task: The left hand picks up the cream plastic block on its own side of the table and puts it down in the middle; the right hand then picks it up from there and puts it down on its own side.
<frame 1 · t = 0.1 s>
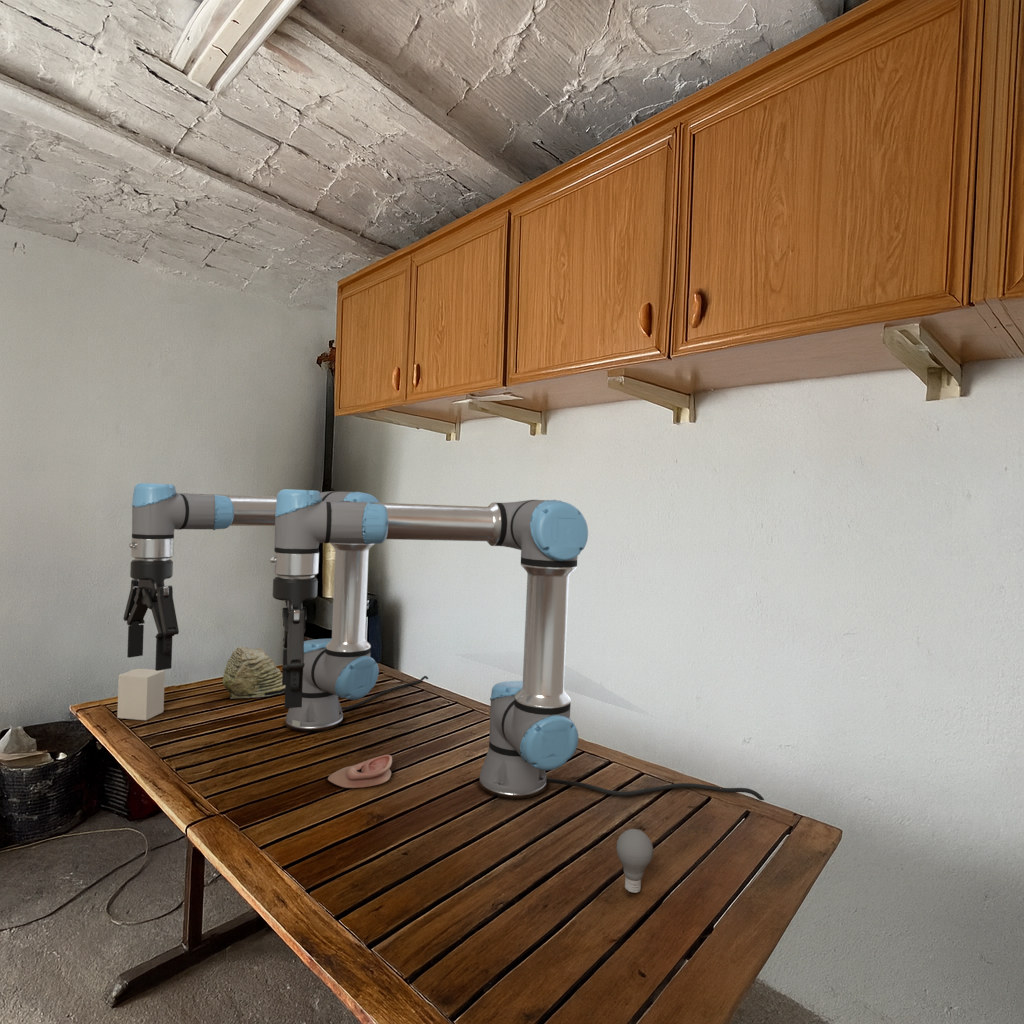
left hand: (148, 662, 129), 28 cm above the table, tool pointing down, fingers open, 13 cm apart
right hand: (291, 695, 113), 28 cm above the table, tool pointing down, fingers open, 13 cm apart
fossil: (254, 694, 198), on the table
light bulb: (632, 891, 106), on the table
block: (140, 714, 177), on the table
anatomical model: (360, 778, 143), on the table
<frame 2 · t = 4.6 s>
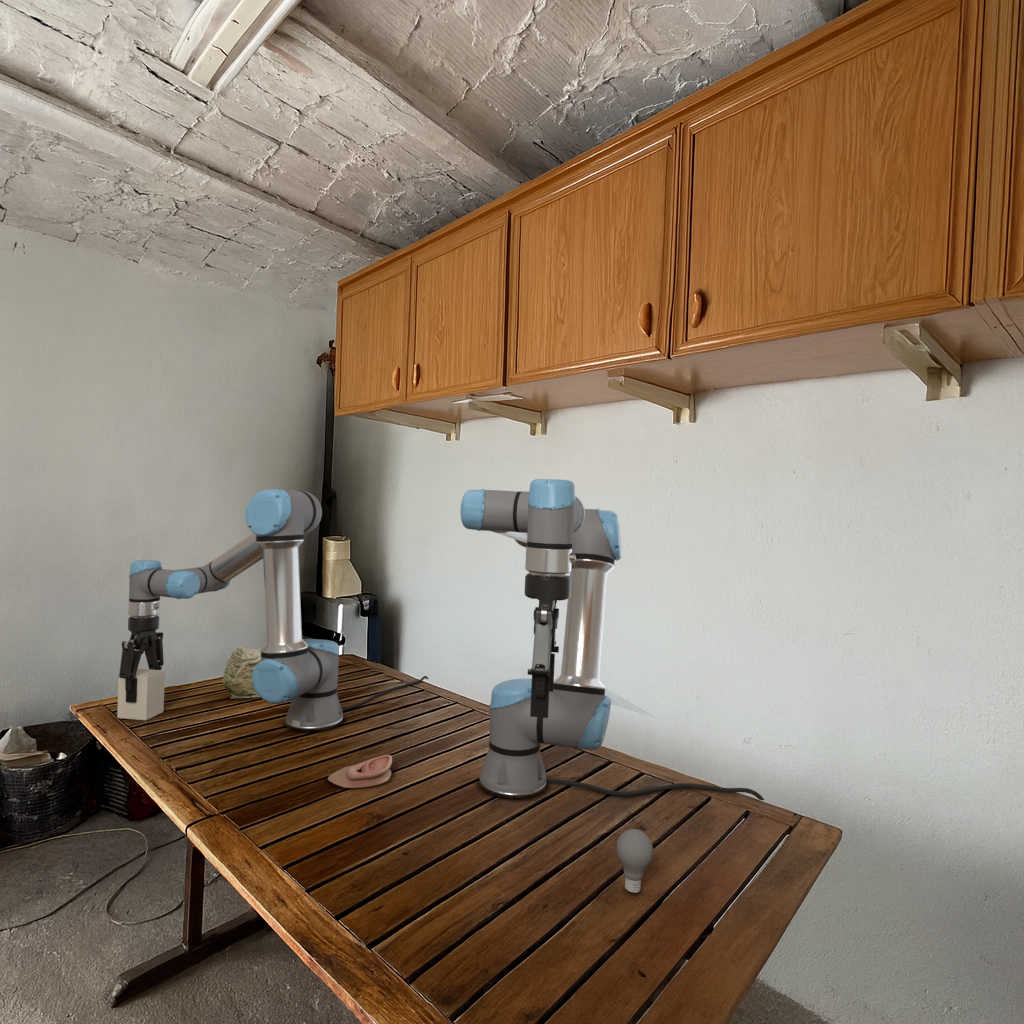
left hand: (141, 697, 177), 5 cm above the table, tool pointing down, fingers closed on block, 7 cm apart
right hand: (542, 703, 104), 31 cm above the table, tool pointing down, fingers open, 13 cm apart
block: (140, 714, 177), on the table, touching left hand
everything else where it was.
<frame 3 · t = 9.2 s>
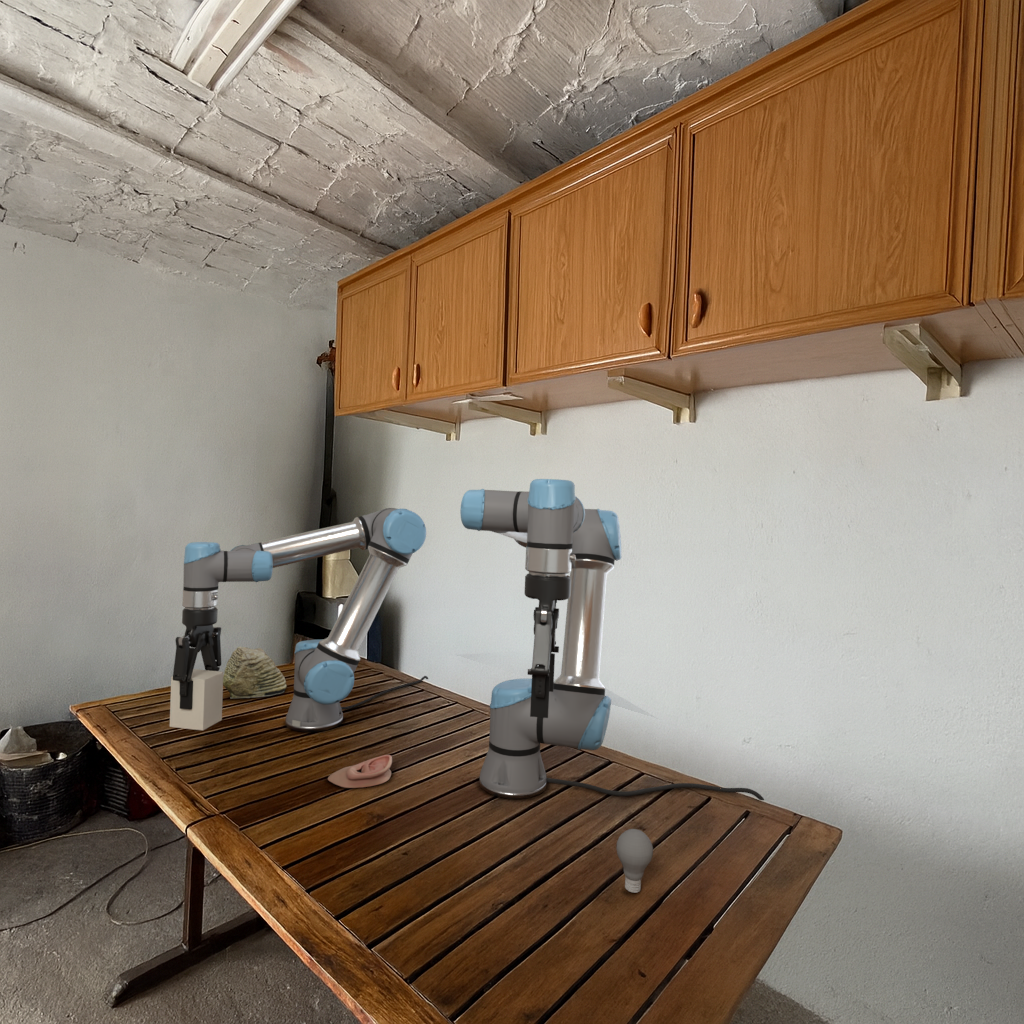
left hand: (197, 703, 151), 13 cm above the table, tool pointing down, fingers closed on block, 7 cm apart
right hand: (542, 703, 104), 31 cm above the table, tool pointing down, fingers open, 13 cm apart
block: (196, 723, 151), point 8 cm above the table, touching left hand
everything else where it was.
when the left hand's fingers open (7 cm above the table, at t = 14.0 s): block drops 2 cm, on the table.
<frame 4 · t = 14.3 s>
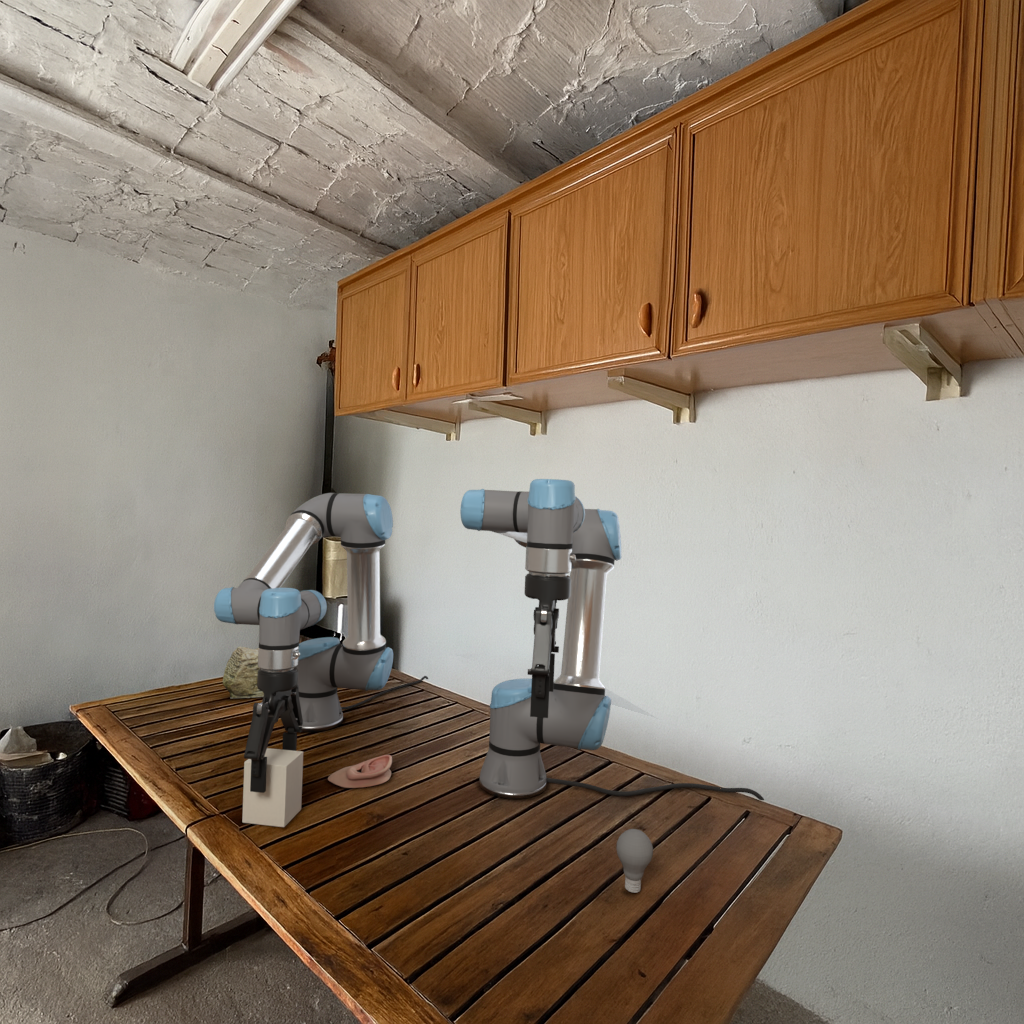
left hand: (274, 777, 125), 8 cm above the table, tool pointing down, fingers open, 11 cm apart
right hand: (542, 703, 104), 31 cm above the table, tool pointing down, fingers open, 13 cm apart
block: (272, 815, 125), on the table
everything else where it was.
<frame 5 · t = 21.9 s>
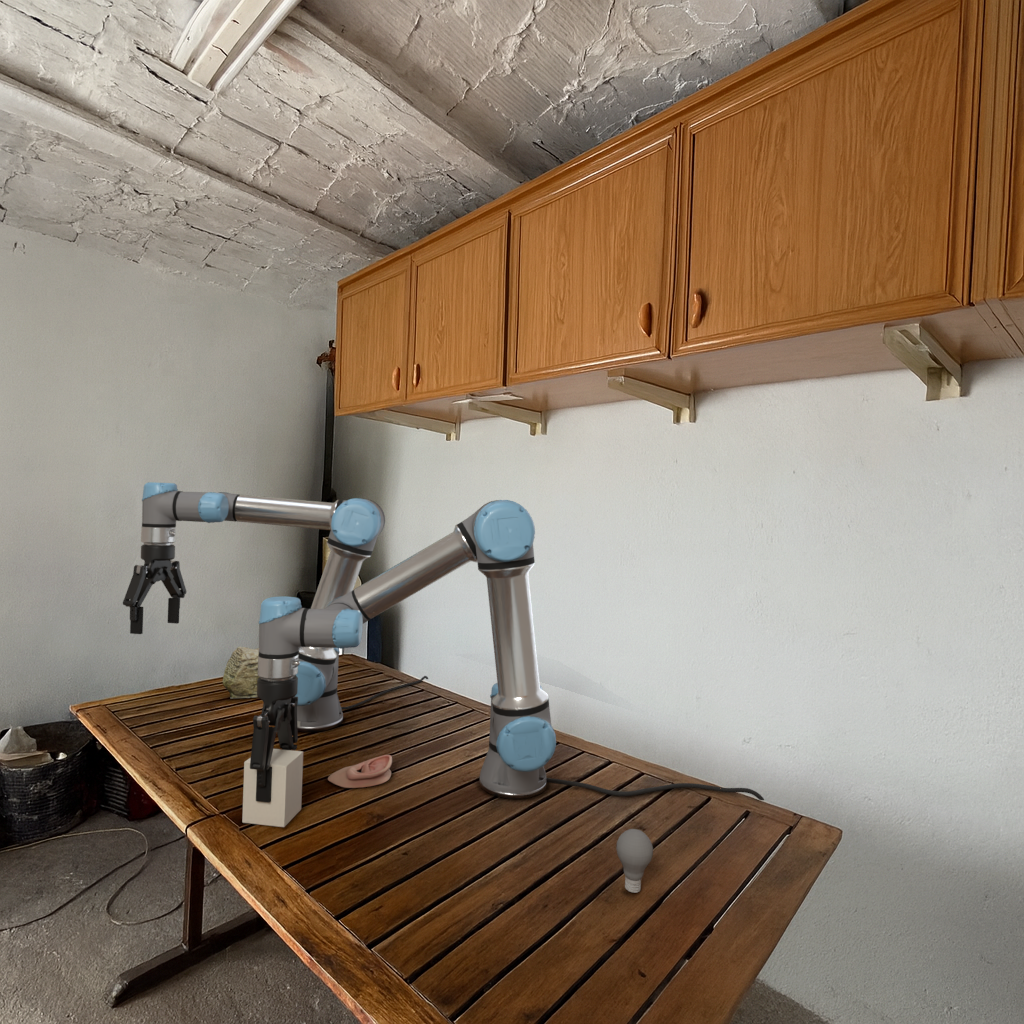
left hand: (155, 628, 159), 28 cm above the table, tool pointing down, fingers open, 13 cm apart
right hand: (273, 791, 125), 5 cm above the table, tool pointing down, fingers closed on block, 7 cm apart
block: (272, 815, 125), on the table, touching right hand
everything else where it was.
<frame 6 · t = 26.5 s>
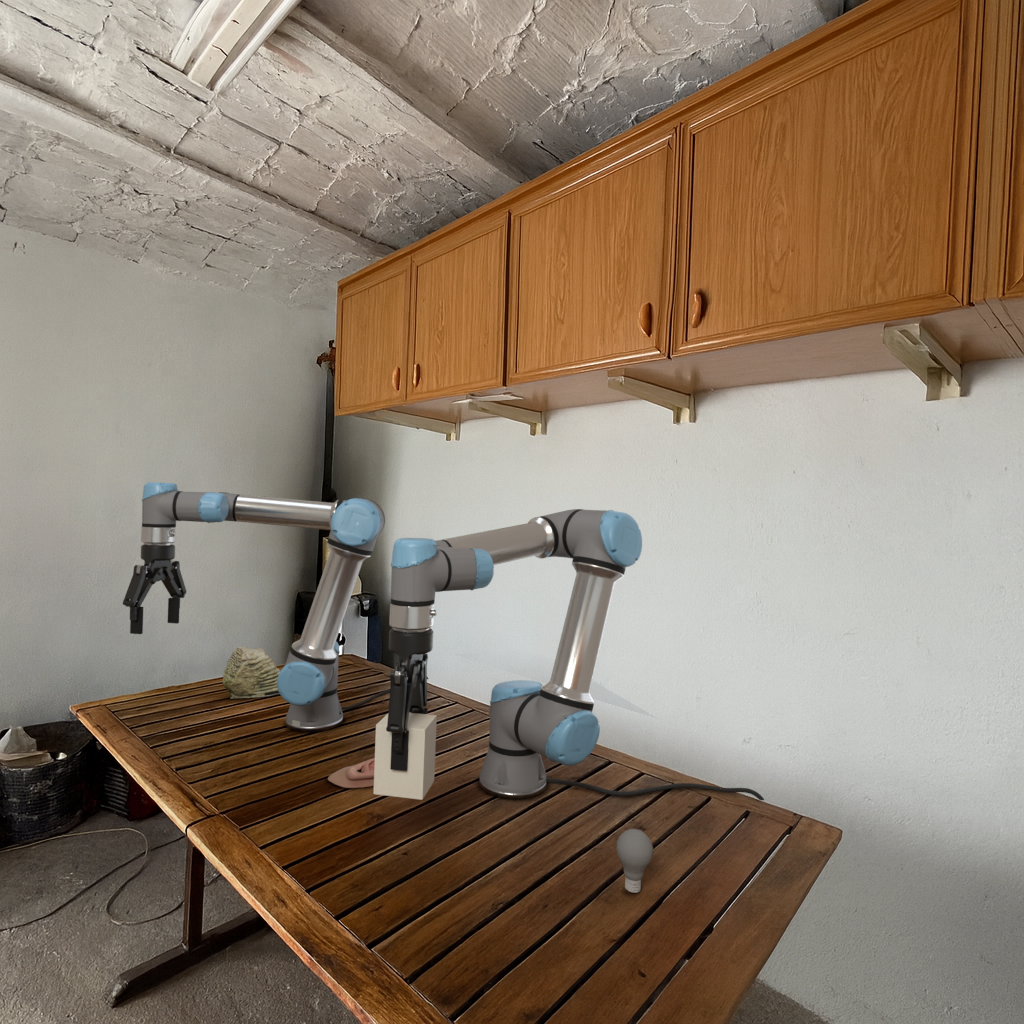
left hand: (155, 628, 159), 28 cm above the table, tool pointing down, fingers open, 13 cm apart
right hand: (406, 759, 109), 19 cm above the table, tool pointing down, fingers closed on block, 7 cm apart
block: (404, 787, 110), point 14 cm above the table, touching right hand
everything else where it was.
when the right hand's fingers open (7 cm above the table, at t = 31.4 s): block drops 2 cm, on the table.
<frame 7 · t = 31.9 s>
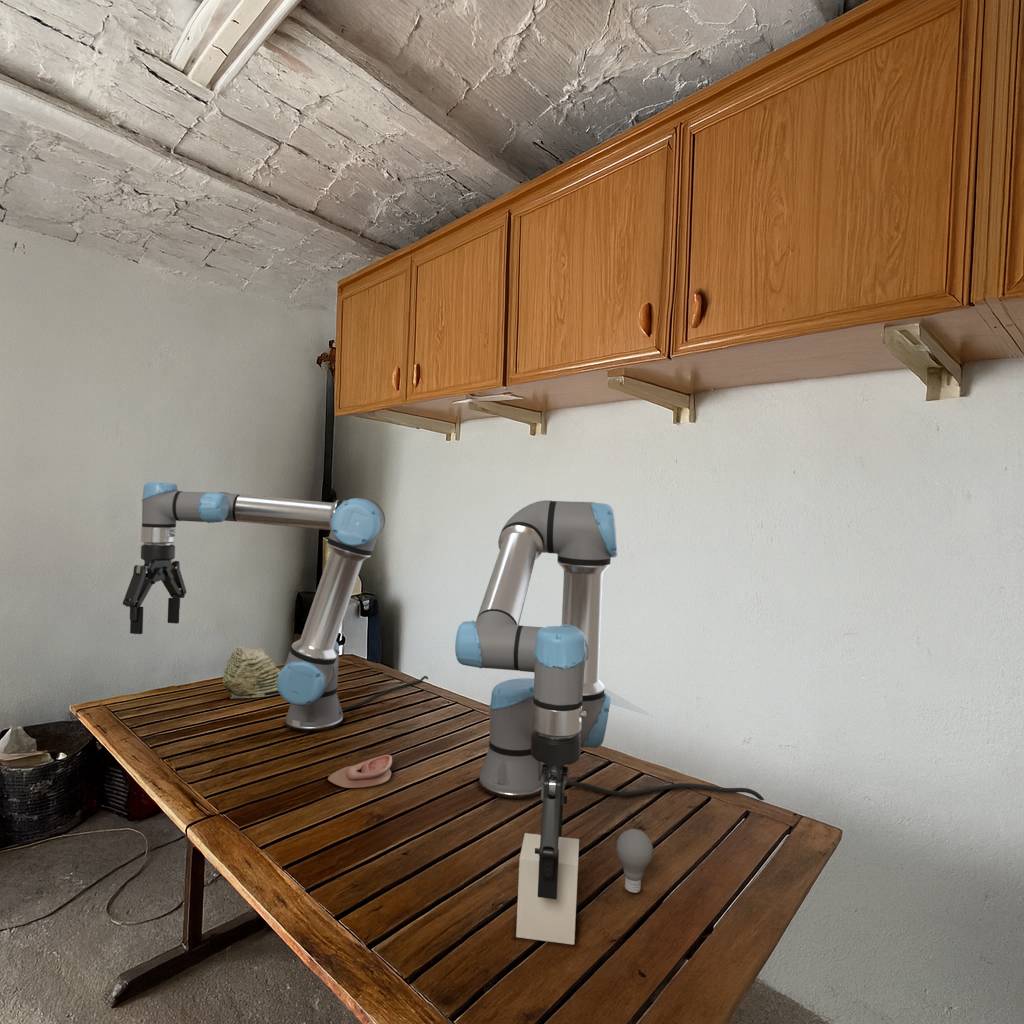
left hand: (155, 628, 159), 28 cm above the table, tool pointing down, fingers open, 13 cm apart
right hand: (550, 869, 96), 9 cm above the table, tool pointing down, fingers open, 13 cm apart
block: (546, 924, 96), on the table
everything else where it was.
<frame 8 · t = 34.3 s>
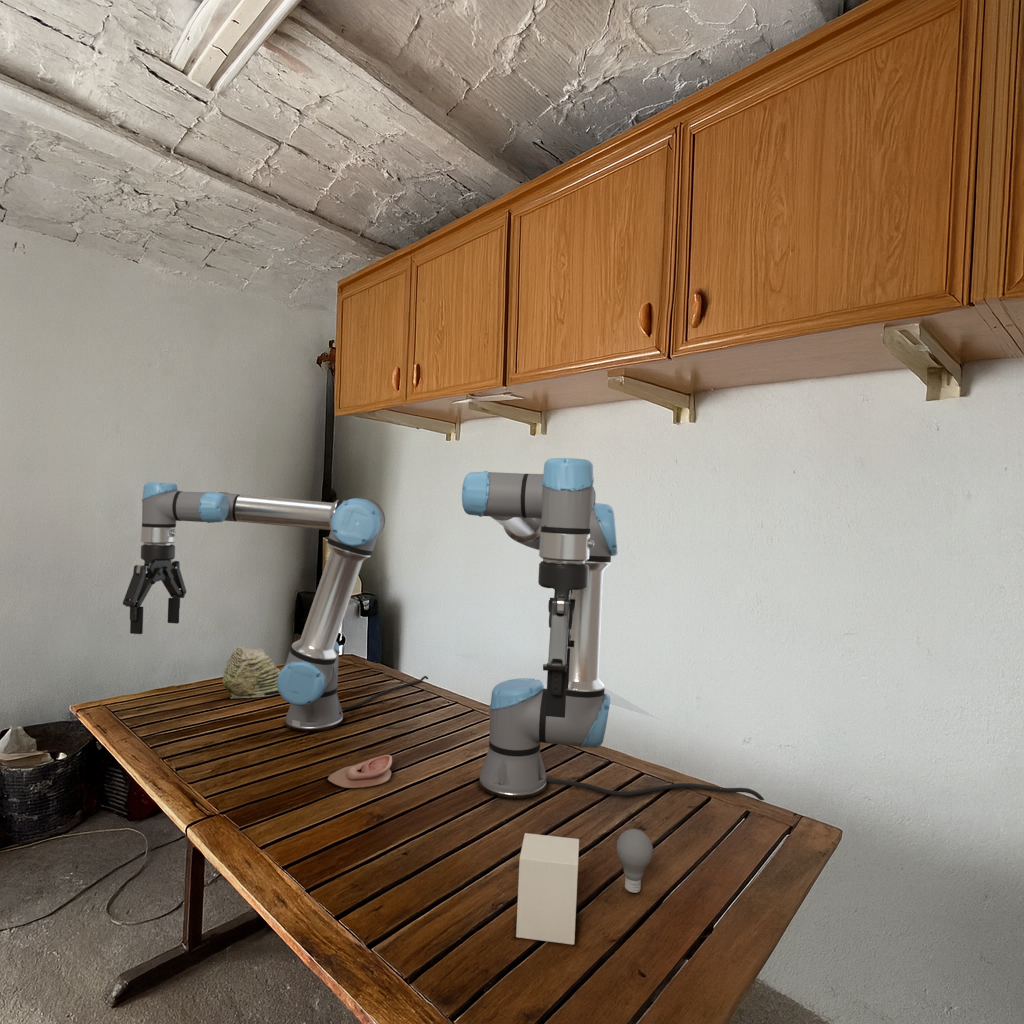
left hand: (155, 628, 159), 28 cm above the table, tool pointing down, fingers open, 13 cm apart
right hand: (557, 701, 96), 34 cm above the table, tool pointing down, fingers open, 13 cm apart
nothing on the table moved.
at the end: block inside the target area (0.1 cm from its centre), on the table; block tilted 0°; the two hands never held the block at the same time; the left hand is holding nothing; the right hand is holding nothing; block at rest at the end (0.0 cm/s) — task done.
